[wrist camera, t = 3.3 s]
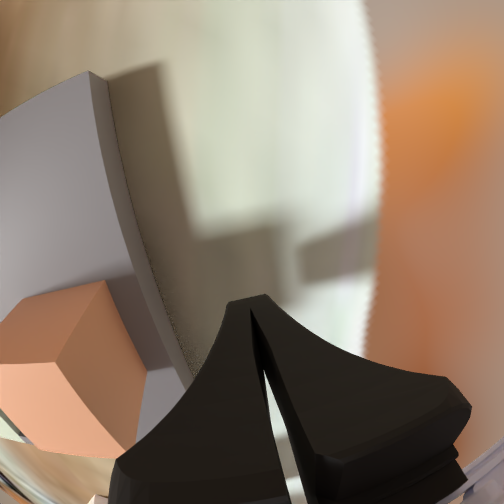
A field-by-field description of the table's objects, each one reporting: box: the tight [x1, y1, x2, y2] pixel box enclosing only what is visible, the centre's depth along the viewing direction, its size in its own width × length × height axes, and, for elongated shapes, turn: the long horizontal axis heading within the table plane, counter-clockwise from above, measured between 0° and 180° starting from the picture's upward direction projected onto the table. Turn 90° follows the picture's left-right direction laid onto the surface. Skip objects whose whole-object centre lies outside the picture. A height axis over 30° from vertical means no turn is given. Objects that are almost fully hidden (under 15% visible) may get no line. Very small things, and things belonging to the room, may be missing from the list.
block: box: [0, 280, 147, 458], centre depth 8 cm, size 4×4×4 cm
